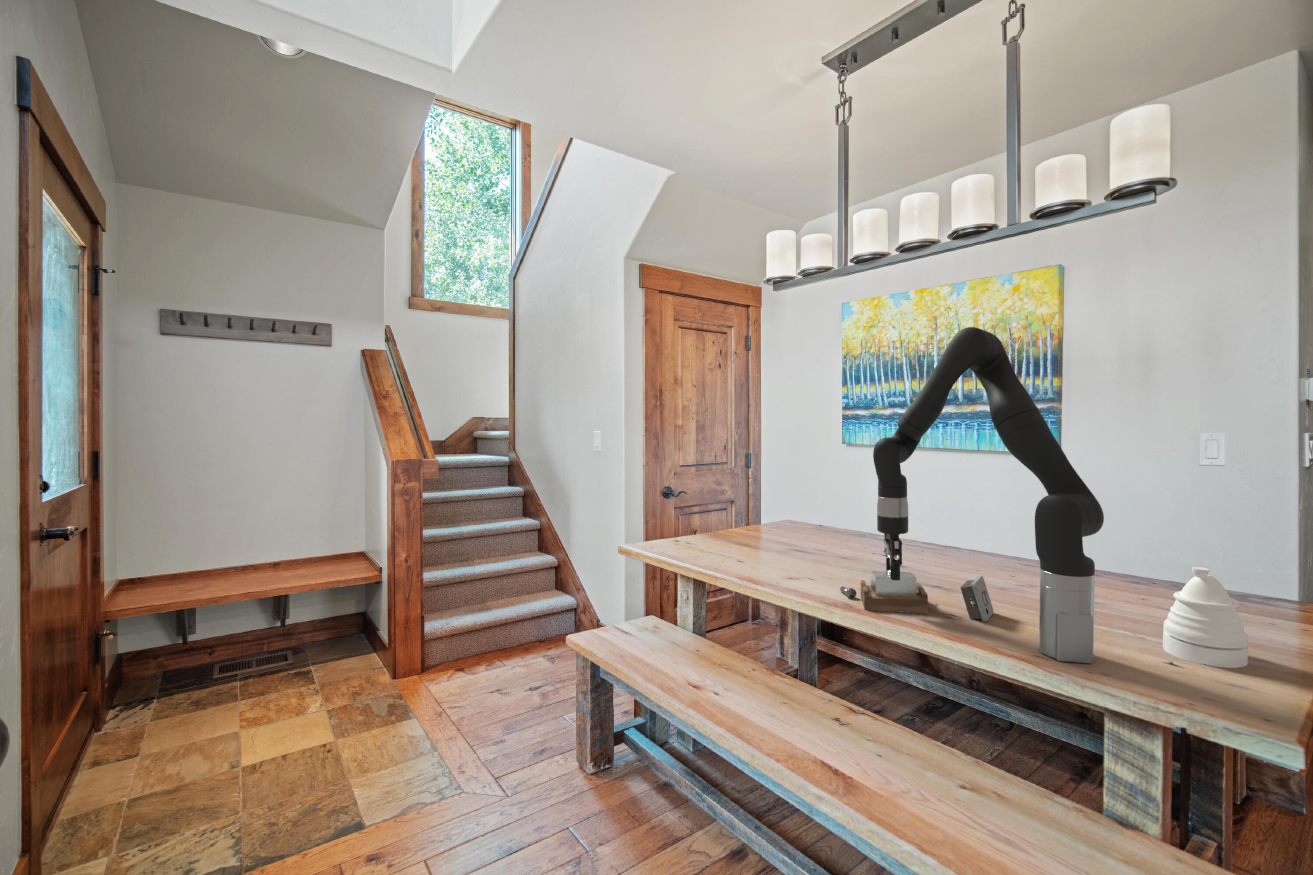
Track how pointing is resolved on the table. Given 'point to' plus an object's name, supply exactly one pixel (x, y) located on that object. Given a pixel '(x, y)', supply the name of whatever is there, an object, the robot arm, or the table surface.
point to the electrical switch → (977, 599)
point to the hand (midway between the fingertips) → (892, 575)
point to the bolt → (848, 592)
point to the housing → (893, 584)
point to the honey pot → (1205, 624)
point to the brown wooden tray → (894, 601)
